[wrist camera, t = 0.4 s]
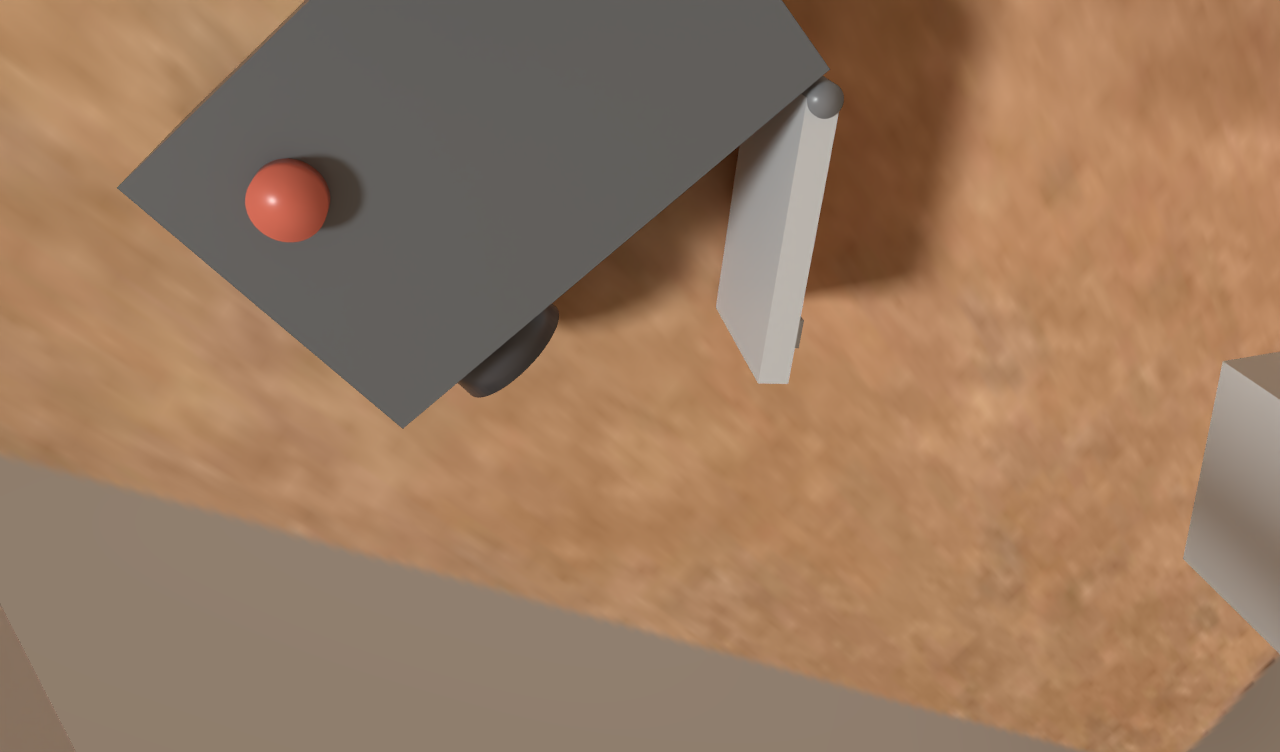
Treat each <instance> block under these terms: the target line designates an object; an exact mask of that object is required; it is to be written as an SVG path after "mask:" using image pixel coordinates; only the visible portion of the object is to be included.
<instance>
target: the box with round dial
mask: <svg viewBox="0 0 1280 752" xmlns="http://www.w3.org/2000/svg"><path fill="white" fill-rule="evenodd" d="M829 70H830V69H829V67H828V66H827V64H826V63H825V61H824V60H823V59H822V57H821V56H820V54H819V53H818V51H817V50H816V49H815V47H814V46H813V44H812V43H811V41H810V40H809V39H808V37H807V36H806V34H805V33H804V31H803V30H802V28H801V27H800V26H799V24H798V23H797V21H796V20H795V18H794V17H793V16H792V14H791V13H790V11H789V10H788V8H787V7H786V6H785V4H784V3H783V1H782V0H305V1H304V2H303V3H302V4H301V5H300V6H299V7H298V8H297V9H296V10H295V11H294V12H293V13H292V14H291V15H290V16H289V17H288V18H287V19H286V20H285V21H284V22H283V23H282V24H281V25H280V26H279V27H278V28H277V29H276V30H275V31H274V32H273V33H272V34H271V35H269V36H268V37H267V38H266V39H265V40H264V41H263V42H262V43H261V44H260V45H259V46H258V47H257V48H256V49H255V50H254V51H253V52H252V53H251V54H250V55H249V56H248V57H247V58H246V59H245V60H244V61H243V62H242V63H241V64H240V65H239V66H238V67H237V68H236V69H235V70H234V71H233V72H232V73H231V74H229V75H228V76H227V77H226V78H225V79H224V80H223V81H222V82H221V83H220V84H219V85H218V86H217V87H216V88H215V89H214V90H213V91H212V92H211V93H210V94H209V95H208V96H207V97H206V98H205V99H204V100H203V101H202V102H201V103H200V104H199V105H198V106H197V107H196V108H195V109H194V110H193V111H192V112H190V113H189V114H188V115H187V116H186V117H185V118H184V119H183V120H182V121H181V122H180V123H179V124H178V125H177V126H176V127H175V128H174V129H173V131H172V132H171V133H170V134H169V135H168V136H167V137H166V138H165V139H164V140H163V141H162V142H161V143H160V144H159V145H158V146H157V147H156V148H155V149H154V150H153V151H152V152H151V153H150V154H149V155H148V156H147V157H146V158H145V159H144V160H143V161H142V162H141V163H140V164H139V165H138V167H137V168H136V169H135V170H134V171H133V172H132V173H131V174H130V175H129V176H128V177H127V178H126V179H125V180H124V181H123V182H122V183H121V184H120V185H119V186H118V187H117V188H118V189H119V190H120V191H121V192H122V193H123V194H125V195H126V196H127V197H128V198H129V199H131V200H132V201H133V202H134V203H135V204H137V205H138V206H139V207H140V208H141V209H142V210H144V211H145V212H146V213H147V214H148V215H150V216H151V217H152V218H153V219H154V220H156V221H157V222H158V223H159V224H160V225H161V226H163V227H164V228H165V229H166V230H167V231H169V232H170V233H171V234H172V235H173V236H175V237H176V238H177V239H178V240H179V241H180V242H182V243H183V244H184V245H185V246H186V247H188V248H189V249H190V250H191V251H192V252H194V253H195V254H196V255H197V256H198V257H199V258H201V259H202V260H203V261H204V262H205V263H207V264H208V265H209V266H210V267H211V268H213V269H214V270H215V271H216V272H217V273H218V274H220V275H221V276H222V277H223V278H224V279H226V280H227V281H228V282H229V283H230V284H232V285H233V286H234V287H235V288H236V289H237V290H239V291H240V292H241V293H242V294H243V295H245V296H246V297H247V298H248V299H249V300H251V301H252V302H253V303H254V304H255V305H256V306H258V307H259V308H260V309H261V310H262V311H264V312H265V313H266V314H267V315H268V316H270V317H271V318H272V319H273V320H274V321H275V322H277V323H278V324H279V325H280V326H281V327H283V328H284V329H285V330H286V331H287V332H289V333H290V334H291V335H292V336H293V337H294V338H296V339H297V340H298V341H299V342H300V343H302V344H303V345H304V346H305V347H306V348H308V349H309V350H310V351H311V352H312V353H313V354H315V355H316V356H317V357H318V358H319V359H321V360H322V361H323V362H324V363H325V364H327V365H328V366H329V367H330V368H331V369H332V370H334V371H335V372H336V373H337V374H338V375H340V376H341V377H342V378H343V379H344V380H346V381H347V382H348V383H349V384H350V385H351V386H353V387H354V388H355V389H356V390H357V391H359V392H360V393H361V394H362V395H363V396H364V397H366V398H367V399H368V400H369V401H370V402H372V403H373V404H374V405H375V406H376V407H378V408H379V409H380V410H381V411H382V412H383V413H385V414H386V415H387V416H388V417H389V418H391V419H392V420H393V421H394V422H395V423H397V424H398V425H399V426H400V427H401V428H402V429H403V428H404V427H405V426H407V425H408V424H409V423H410V422H411V421H413V420H414V419H415V418H416V417H417V416H419V415H420V414H421V413H422V412H423V411H424V410H426V409H427V408H428V407H429V406H430V405H432V404H433V403H434V402H435V401H436V400H438V399H439V398H440V397H441V396H442V395H443V394H445V393H446V392H447V391H448V390H449V389H451V388H452V387H453V386H454V385H455V384H457V383H458V384H460V385H461V386H462V387H463V388H464V389H465V390H466V391H467V392H468V393H470V394H471V395H472V396H474V397H478V398H479V397H485V396H488V395H491V394H493V393H495V392H497V391H499V390H501V389H502V388H504V387H505V386H507V385H508V384H510V383H511V382H512V381H514V380H515V379H516V378H517V377H518V376H520V375H521V374H522V373H523V372H524V371H525V370H526V369H527V368H528V367H529V366H530V365H531V364H532V363H533V362H534V361H535V359H536V358H537V357H538V356H539V355H540V353H541V352H542V351H543V349H544V348H545V347H546V345H547V344H548V342H549V341H550V339H551V337H552V335H553V333H554V331H555V329H556V327H557V324H558V320H559V311H558V309H557V308H556V307H555V306H554V305H553V304H552V303H553V302H554V301H555V300H556V299H558V298H559V297H560V296H561V295H562V294H564V293H565V292H566V291H567V290H568V289H569V288H571V287H572V286H573V285H574V284H575V283H577V282H578V281H579V280H580V279H581V278H583V277H584V276H585V275H586V274H587V273H589V272H590V271H591V270H592V269H593V268H594V267H596V266H597V265H598V264H599V263H600V262H602V261H603V260H604V259H605V258H606V257H608V256H609V255H610V254H611V253H612V252H613V251H615V250H616V249H617V248H618V247H619V246H621V245H622V244H623V243H624V242H625V241H627V240H628V239H629V238H630V237H631V236H633V235H634V234H635V233H636V232H637V231H638V230H640V229H641V228H642V227H643V226H644V225H646V224H647V223H648V222H649V221H650V220H652V219H653V218H654V217H655V216H656V215H657V214H659V213H660V212H661V211H662V210H663V209H665V208H666V207H667V206H668V205H669V204H671V203H672V202H673V201H674V200H675V199H676V198H678V197H679V196H680V195H681V194H682V193H684V192H685V191H686V190H687V189H688V188H690V187H691V186H692V185H693V184H694V183H696V182H697V181H698V180H699V179H700V178H701V177H703V176H704V175H705V174H706V173H707V172H709V171H710V170H711V169H712V168H713V167H715V166H716V165H717V164H718V163H719V162H720V161H722V160H723V159H724V158H725V157H726V156H728V155H729V154H730V153H731V152H732V151H734V150H735V149H736V148H737V147H738V146H739V145H741V144H742V143H743V142H744V141H745V140H747V139H748V138H749V137H750V136H751V135H753V134H754V133H755V132H756V131H757V130H759V129H760V128H761V127H762V126H763V125H764V124H766V123H767V122H768V121H769V120H770V119H772V118H773V117H774V116H775V115H776V114H778V113H779V112H780V111H781V110H782V109H783V108H785V107H786V106H787V105H788V104H789V103H791V102H792V101H793V100H794V99H795V98H797V97H798V96H799V95H800V94H801V93H803V92H804V91H805V90H806V89H807V88H808V87H810V86H811V85H812V84H813V83H814V82H816V81H817V80H818V79H819V78H820V77H822V76H823V75H824V74H825V73H826V72H827V71H829Z"/></svg>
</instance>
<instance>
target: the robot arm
mask: <svg viewBox="0 0 1280 752" xmlns="http://www.w3.org/2000/svg"><path fill="white" fill-rule="evenodd" d="M1183 559H1184V560H1185V561H1186V562H1187V563H1188V564H1189V565H1190V566H1191V567H1192V568H1193V569H1194V570H1195V571H1196V572H1197V573H1198V574H1199V575H1200V576H1201V577H1202V578H1203V579H1204V580H1205V581H1206V582H1207V583H1208V584H1209V585H1210V586H1211V587H1212V588H1213V589H1214V590H1215V591H1216V592H1217V593H1218V594H1219V595H1220V596H1221V597H1222V598H1223V599H1224V600H1225V601H1226V602H1228V603H1229V604H1230V605H1231V606H1232V607H1233V608H1234V609H1235V610H1236V611H1237V612H1238V613H1239V614H1240V615H1241V616H1242V617H1243V618H1244V619H1245V620H1246V621H1247V622H1248V623H1249V624H1250V625H1251V626H1252V627H1253V628H1254V629H1255V630H1256V631H1257V632H1258V633H1259V634H1260V635H1261V636H1262V637H1263V638H1264V639H1265V640H1266V641H1267V642H1268V643H1269V644H1270V645H1271V646H1272V647H1273V648H1274V649H1275V650H1276V651H1277V652H1278V653H1279V654H1280V352H1276V353H1270V354H1264V355H1258V356H1252V357H1246V358H1240V359H1234V360H1228V361H1223V363H1222V368H1221V373H1220V378H1219V383H1218V388H1217V393H1216V398H1215V403H1214V408H1213V413H1212V418H1211V423H1210V428H1209V433H1208V438H1207V443H1206V448H1205V453H1204V458H1203V463H1202V468H1201V473H1200V478H1199V482H1198V487H1197V492H1196V497H1195V502H1194V507H1193V512H1192V517H1191V522H1190V527H1189V532H1188V537H1187V542H1186V547H1185V552H1184V557H1183ZM0 752H76V751H75V749H74V747H73V745H72V743H71V741H70V739H69V737H68V736H67V733H66V731H65V729H64V727H63V726H62V723H61V722H60V720H59V718H58V716H57V714H56V712H55V710H54V708H53V706H52V704H51V702H50V700H49V698H48V696H47V694H46V692H45V690H44V688H43V687H42V684H41V682H40V680H39V679H38V677H37V675H36V673H35V671H34V669H33V667H32V665H31V663H30V661H29V659H28V657H27V655H26V653H25V651H24V649H23V647H22V645H21V643H20V641H19V639H18V637H17V636H16V634H15V632H14V630H13V628H12V626H11V624H10V622H9V620H8V618H7V616H6V614H5V612H4V610H3V609H2V607H1V604H0Z"/></svg>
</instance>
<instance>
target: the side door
mask: <svg viewBox="0 0 1280 752" xmlns="http://www.w3.org/2000/svg"><path fill="white" fill-rule="evenodd" d="M843 102H844V95H843V92H842V90H841V88H840V87H839V86H838V85H836V84H835V83H833V82H831V81H830V80H828V79H827V78H825V77H824V76H822V77H820V78H819V79H818V80H817V81H816V82H814V83H813V84H812V85H811V86H810V87H808V88H807V89H806V90H805V91H804V92H803V93H801V94H800V95H799V96H798V97H797V98H795V99H794V100H793V101H792V102H791V103H789V104H788V105H787V106H786V107H785V108H783V109H782V110H781V111H780V112H779V113H778V114H776V115H775V116H774V117H773V118H772V119H770V120H769V121H768V122H767V123H766V124H764V125H763V126H762V127H761V128H760V129H759V130H757V131H756V132H755V133H754V134H753V135H751V136H750V137H749V138H748V139H747V140H745V141H744V142H743V143H742V144H741V145H739V152H738V159H737V166H736V173H735V180H734V187H733V193H732V200H731V207H730V214H729V221H728V228H727V235H726V242H725V248H724V255H723V262H722V269H721V276H720V283H719V290H718V297H717V304H716V309H717V310H718V312H719V314H720V316H721V318H722V319H723V321H724V323H725V325H726V327H727V328H728V330H729V332H730V334H731V336H732V337H733V339H734V341H735V343H736V345H737V346H738V348H739V350H740V352H741V354H742V355H743V357H744V359H745V361H746V362H747V364H748V366H749V368H750V370H751V371H752V373H753V375H754V377H755V379H756V380H757V382H758V383H770V384H788V381H789V376H790V371H791V365H792V360H793V355H794V349H795V348H799V343H800V338H801V333H802V327H803V322H804V320H803V319H802V317H801V312H802V307H803V301H804V296H805V291H806V285H807V280H808V275H809V269H810V264H811V259H812V253H813V248H814V243H815V237H816V232H817V227H818V221H819V216H820V211H821V205H822V200H823V195H824V189H825V184H826V178H827V173H828V168H829V162H830V157H831V152H832V146H833V141H834V136H835V130H836V125H837V120H838V114H839V111H840V109H841V108H842V105H843Z"/></svg>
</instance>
